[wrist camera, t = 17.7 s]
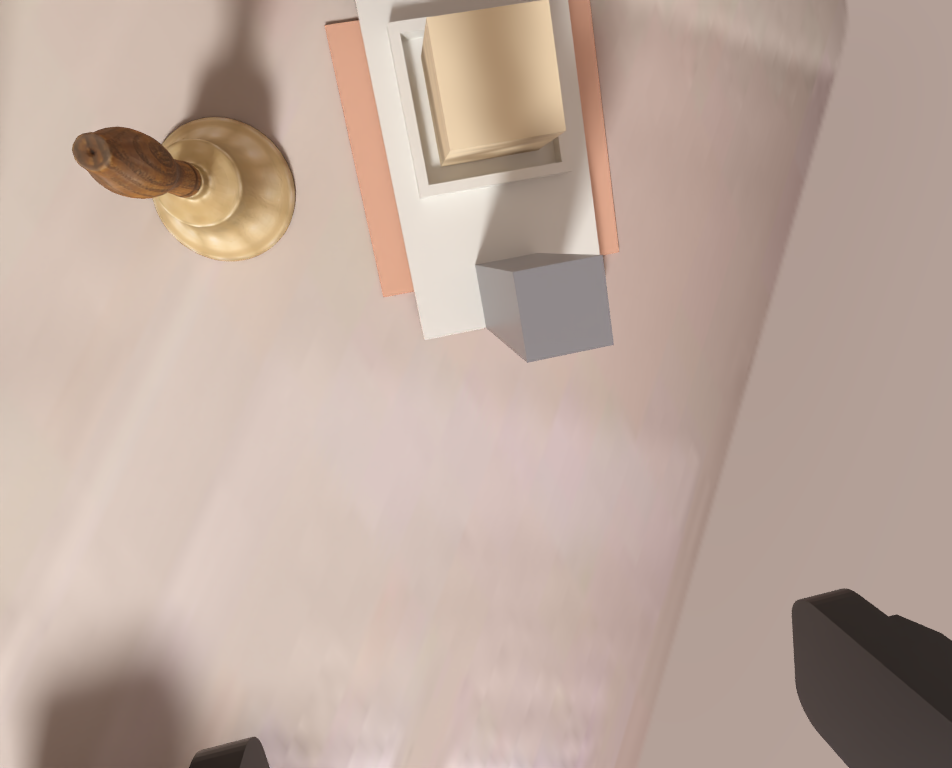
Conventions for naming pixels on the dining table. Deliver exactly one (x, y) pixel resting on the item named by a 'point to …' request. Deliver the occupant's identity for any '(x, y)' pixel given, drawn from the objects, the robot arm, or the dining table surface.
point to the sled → (489, 203)
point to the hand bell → (200, 182)
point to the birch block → (492, 81)
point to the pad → (374, 160)
